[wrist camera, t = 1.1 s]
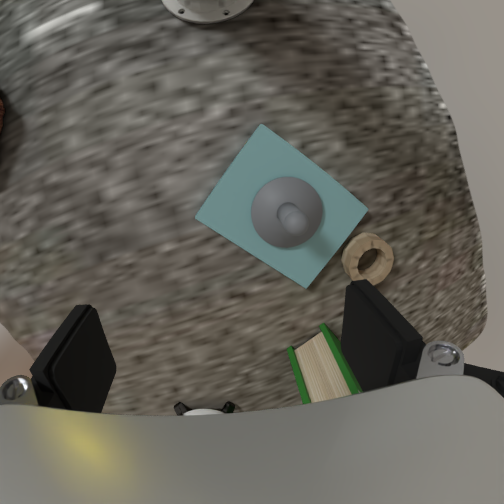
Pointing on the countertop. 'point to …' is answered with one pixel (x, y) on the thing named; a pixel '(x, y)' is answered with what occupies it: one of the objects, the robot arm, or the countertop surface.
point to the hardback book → (322, 369)
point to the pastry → (1, 114)
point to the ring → (356, 250)
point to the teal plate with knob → (281, 207)
